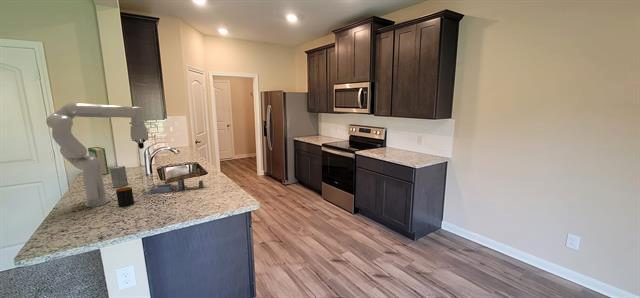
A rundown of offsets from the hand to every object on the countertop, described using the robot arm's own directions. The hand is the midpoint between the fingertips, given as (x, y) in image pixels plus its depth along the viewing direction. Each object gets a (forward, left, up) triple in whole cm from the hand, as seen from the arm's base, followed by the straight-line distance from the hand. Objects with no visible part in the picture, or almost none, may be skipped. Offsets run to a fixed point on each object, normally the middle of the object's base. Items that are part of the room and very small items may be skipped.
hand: (141, 148), depth 200 cm
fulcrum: (-11, -26, -31) cm, 42 cm away
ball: (-11, -9, -29) cm, 32 cm away
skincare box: (+13, +22, -31) cm, 40 cm away
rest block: (-11, -39, -31) cm, 51 cm away
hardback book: (+63, +56, -31) cm, 90 cm away
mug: (-34, +2, -31) cm, 46 cm away
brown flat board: (-6, -28, -23) cm, 36 cm away
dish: (-11, -12, -31) cm, 35 cm away
